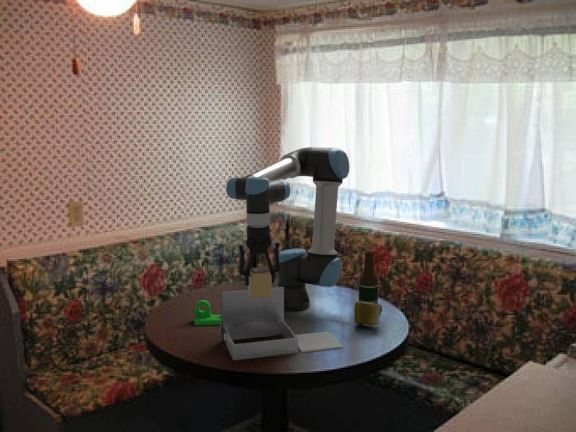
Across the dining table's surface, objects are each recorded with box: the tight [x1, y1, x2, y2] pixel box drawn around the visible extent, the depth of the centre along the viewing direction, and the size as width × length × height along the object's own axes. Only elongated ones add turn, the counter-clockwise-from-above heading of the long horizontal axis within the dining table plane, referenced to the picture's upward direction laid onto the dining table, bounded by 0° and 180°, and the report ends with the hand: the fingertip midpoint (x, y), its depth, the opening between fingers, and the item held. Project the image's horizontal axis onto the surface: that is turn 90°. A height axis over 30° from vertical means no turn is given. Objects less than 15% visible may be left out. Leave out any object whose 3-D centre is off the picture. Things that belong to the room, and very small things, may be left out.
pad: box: [295, 330, 343, 354], centre depth 196 cm, size 14×14×1 cm
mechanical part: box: [194, 299, 221, 326], centre depth 216 cm, size 12×6×8 cm, turn 93°
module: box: [250, 266, 271, 298], centre depth 190 cm, size 6×6×9 cm
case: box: [218, 286, 299, 361], centre depth 192 cm, size 23×18×17 cm
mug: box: [353, 301, 383, 327], centre depth 211 cm, size 12×10×10 cm
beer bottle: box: [358, 250, 379, 304], centre depth 226 cm, size 8×8×24 cm
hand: (259, 293), depth 191 cm, fingers closed on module, 6 cm apart
